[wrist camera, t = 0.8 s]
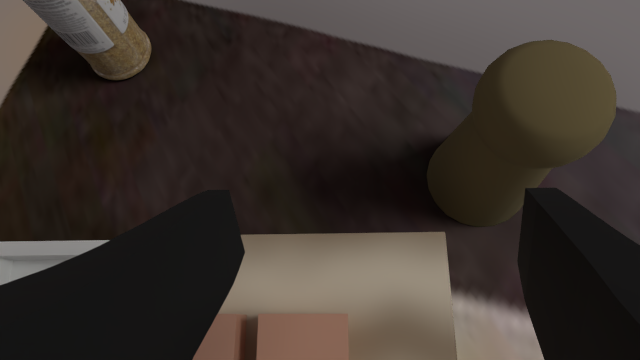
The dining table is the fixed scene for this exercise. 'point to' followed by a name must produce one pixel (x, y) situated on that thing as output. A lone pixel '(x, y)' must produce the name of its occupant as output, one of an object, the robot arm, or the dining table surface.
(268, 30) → the dining table surface
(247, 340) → the low rectangular platform
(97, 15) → the sprinkles bottle
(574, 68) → the cork
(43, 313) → the robot arm
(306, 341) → the tile
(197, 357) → the tile
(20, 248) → the box
